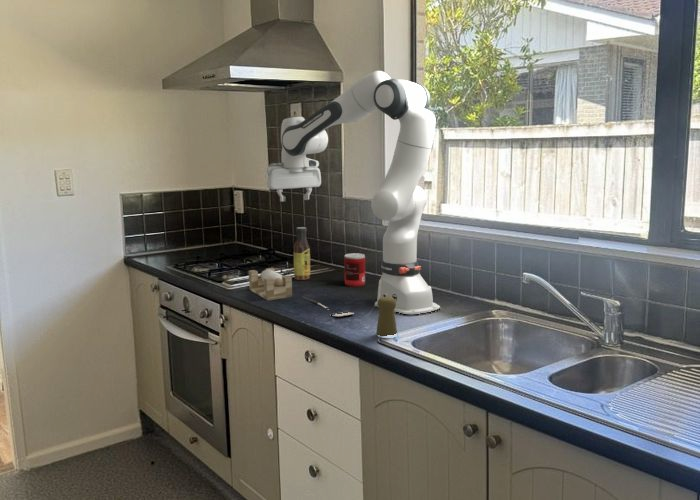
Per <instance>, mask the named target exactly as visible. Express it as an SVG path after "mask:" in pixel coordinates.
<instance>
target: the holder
mask: <svg viewBox="0 0 700 500" xmlns="http://www.w3.org/2000/svg"><path fill="white" fill-rule="evenodd" d="M266 269H270V270H272V271H274V272H276V269H275V268H273V267H268V268H266ZM282 280H284V281H285V284H284V286H282V287H281V286H278V285H277V286H274V280H273V279H271V278H265V279H264V282H263V281H262V279H261V276H260V277H259V272H258V271H257V270H255V269H252V270H248V284H249V285H248V286H249V288H248V289H249V290H250V291H251V292H253V293H255V294H256V295H257V296H259V297H261V298H263V299H265V300H266V301H273V300H281V299H288V298H293V281H292V280H293V277H292V276H290V275H282Z"/></svg>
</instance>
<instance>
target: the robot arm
mask: <svg viewBox="0 0 700 500" xmlns="http://www.w3.org/2000/svg"><path fill="white" fill-rule="evenodd" d="M430 104H431V94H430V92H429V90H428V89H427V87H426V86H424V85H423V84H421V83H419V82H416V81H415V82H413V81H410V80H407V79H396V78H391V77H390V76H389V75H388V74H387V73H386V72H384V71H383V70H375V71H372V72H370V73H369V74H366V75H365V76H363V77H362V78H361V79H359V80H357V81H356V82H355V83H354V84H353V85H351V86H350V87H348V89H346V90H345V91H344V92H342V94H340V95H339V96H337V97H336V98H334V99H333V100H332V101H330V102H329V103H327V104H326V105H325V106H323V107H321V108H319V109H318V110H317V111H315V112H314V113H313V114H311V115H310V116H309V117H307V118H304V117H303V116H301V115H295V116H294V115H293V116H289V117H286V118H284V119H283V120H282V123H281V127H280V142H281V148H282V149H281V152H280V153H281V162H276V163H275V162H273V163H269V164H268V166H267V167H266V173H267V176H266V177H267V181H266V187H267V189H269V190H273V191H274V190H276V193H277V195H278V197H279V202H286V201H287V200H286V199H287V197H286V196H285V195H283V190H287V189H301V188H302V189H305V190H306V193H305V194H303V200H304V201H308V200H310V195H311V193H312V191H313V188H319V187H320V186H321V185H322V176H321V175H322V174H321V170H320V168H319V166H320V162H319V161H318V160H316V159H314V158H313V159H311V158H310V157H307V155H311V154H313V155H314V154H319V153H323V152H324V151H325V150H326V149H327V148H328V144H329V135H328V132H327V131H326V130H327V129H328V128H330V127H333V126H336V125H342V124H350V123H357V122H359V121H362V120H364V119H366V118H368V117H369V116H370V115H372V114H373V113H375V112H376V111H377V110H379V111H381V112H382V113H384V114H385V115H386V116H388V117H389V118H391V119H392V120H394V121H396V120H398V121H399V124H400V125H399V132H398V135H397V141H396V144H395V148H394V152H393V156H392V161H391V163H390V166H389V168H388V171H387V173H386V175H385V177H384V179H383V181H382V183H381V185H380V187H379V189H378V190H377V191H376V193H375V194H374V195H373V196H372V199H371V206H370V207H371V211H372V213H373V214H374V216H375V217H376V218H377V219H379V220H381V221H386V222H388V225H387V228H386V230H385V233H384V234H383V236H382V237H383V238H382V260H381V265H380V268H381V272H382V273H381V276H380V279H379V280H378V289H377V298H376V299H377V301H374V307H376V306H377V307H376V308H378V300H379V298H381V297H392V298H394V299H395V300H396V307H395V309H394V311H395V312H394V313H396V312H399V313H398V314H400V313H403V314H419V315H421V314H420V313H426V312H431V311H434V310H437V309H439V308H440V309H441V306H440V305H439V304H437V303H435V302H433V301H434V300H433V290H432V286H430V285H428V283H427V282H426V281H425V279H424V278H423V277H422V275H421V267H422V266H421V265H419V260H417V254H418V253H417V250H418V233H419V230H420V228H419V227H420V225H421V220H422V215H423V211H424V209H425V207H426V205H427V201H428V196H427V194H426V191H425V190H424V189H423V188H422V187H421V186H420V185H419V182H420V181H421V179H422V177H423V176H424V174H425V173H426V172H427V167H428V163H429V159H430V155H431V151H432V147H433V144H434V138H435V131H436V121H437V120H436V117H435V114H434V113H433V112H432V111H430V110H429V107H430ZM431 313H432V312H431ZM403 314H402V315H403ZM426 314H427V313H426Z"/></svg>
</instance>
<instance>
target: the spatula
mask: <svg viewBox="0 0 700 500" xmlns="http://www.w3.org/2000/svg"><path fill="white" fill-rule="evenodd" d="M301 298H302V299H304V300H305V301H308V302H310V303H313V304H315V305H319V306H321V307H322V308H324V309H326V308H328V307H327V306H325V305H324V304H322V303H321V302H320V301H317V300H314V299H311V298H309V297H306V296H302V297H301ZM347 312H348V311H347ZM341 313H342V314H337V313H334V314H335V315H332V317H344V316H350V315H354V314H355V313H354V312H351V311H349V312H348V313H343V312H341Z"/></svg>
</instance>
